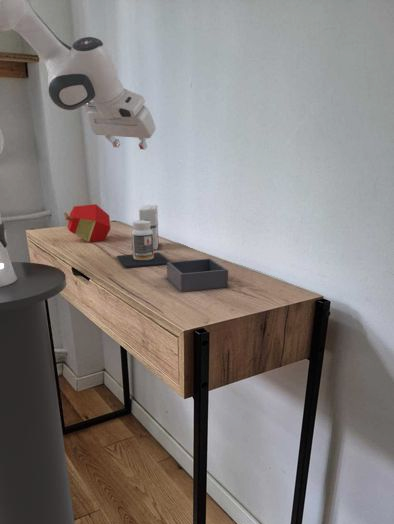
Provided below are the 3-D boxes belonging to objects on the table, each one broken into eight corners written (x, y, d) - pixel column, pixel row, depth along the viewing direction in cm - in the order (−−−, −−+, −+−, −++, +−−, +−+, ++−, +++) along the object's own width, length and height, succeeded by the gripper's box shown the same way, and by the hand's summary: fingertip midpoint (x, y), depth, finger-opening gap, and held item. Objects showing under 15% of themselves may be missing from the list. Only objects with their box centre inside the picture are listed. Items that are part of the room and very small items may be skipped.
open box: (181, 291, 107) (181, 274, 105) (167, 278, 117) (166, 262, 115) (227, 287, 110) (228, 270, 109) (210, 274, 120) (210, 258, 118)
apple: (110, 249, 153) (63, 236, 146) (102, 243, 164) (57, 231, 157) (120, 211, 151) (72, 196, 144) (111, 208, 161) (66, 194, 154)
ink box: (143, 243, 151) (141, 204, 146) (159, 243, 151) (157, 204, 146) (140, 249, 143) (138, 208, 139) (157, 250, 143) (155, 209, 139)
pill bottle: (158, 258, 132) (157, 221, 128) (141, 262, 128) (139, 224, 124) (145, 255, 135) (143, 219, 131) (128, 258, 132) (126, 221, 128)
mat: (126, 268, 125) (126, 266, 125) (117, 257, 135) (117, 255, 135) (170, 264, 129) (170, 262, 128) (158, 254, 139) (158, 252, 139)
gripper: (75, 109, 133) (96, 151, 144) (137, 112, 124) (155, 156, 136) (87, 95, 135) (106, 137, 146) (148, 96, 127) (164, 142, 138)
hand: (130, 147), depth 141 cm, fingers open, 8 cm apart
